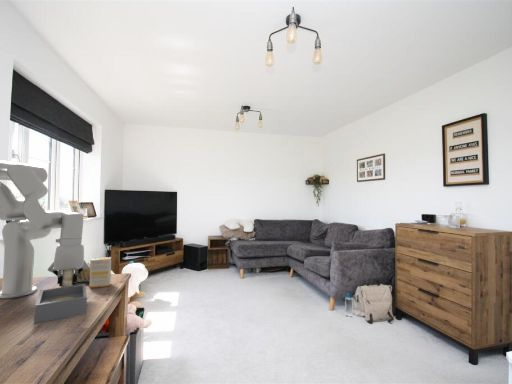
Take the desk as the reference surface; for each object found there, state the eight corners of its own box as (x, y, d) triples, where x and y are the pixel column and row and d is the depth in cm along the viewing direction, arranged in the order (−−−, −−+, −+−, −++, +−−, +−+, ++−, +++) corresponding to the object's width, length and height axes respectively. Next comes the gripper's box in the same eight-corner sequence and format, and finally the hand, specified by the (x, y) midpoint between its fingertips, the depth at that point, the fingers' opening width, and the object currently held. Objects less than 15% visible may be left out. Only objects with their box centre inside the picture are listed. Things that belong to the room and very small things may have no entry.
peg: (60, 290, 109) (63, 266, 109) (72, 288, 111) (74, 265, 111) (60, 293, 106) (62, 269, 106) (72, 291, 108) (74, 268, 108)
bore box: (39, 305, 99) (40, 290, 99) (84, 298, 107) (85, 284, 107) (33, 323, 86) (34, 305, 86) (85, 313, 94) (86, 297, 94)
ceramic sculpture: (99, 259, 137) (90, 268, 122) (99, 275, 137) (90, 286, 123) (76, 260, 133) (64, 270, 119) (76, 276, 134) (64, 288, 119)
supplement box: (110, 283, 126) (112, 256, 126) (108, 286, 121) (110, 259, 122) (91, 284, 123) (92, 257, 123) (88, 288, 118) (90, 259, 119)
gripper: (44, 244, 101) (40, 290, 101) (94, 242, 111) (90, 284, 110) (46, 240, 107) (42, 284, 107) (93, 239, 117) (90, 279, 116)
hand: (67, 284), depth 108 cm, fingers closed on peg, 4 cm apart
